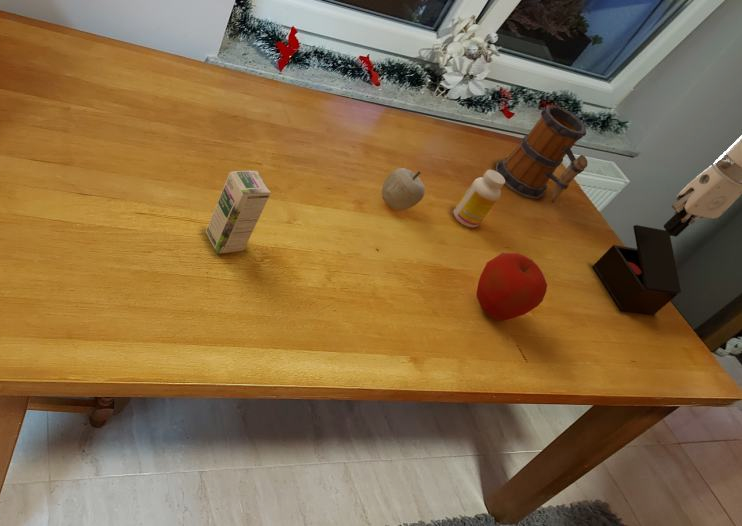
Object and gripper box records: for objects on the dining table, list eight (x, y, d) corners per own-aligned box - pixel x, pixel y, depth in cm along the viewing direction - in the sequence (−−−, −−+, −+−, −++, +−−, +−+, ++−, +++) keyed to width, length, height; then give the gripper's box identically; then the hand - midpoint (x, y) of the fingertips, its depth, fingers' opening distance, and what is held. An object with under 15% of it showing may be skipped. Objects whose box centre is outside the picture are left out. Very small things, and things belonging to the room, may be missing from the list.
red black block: (627, 283, 162) (642, 269, 159) (625, 291, 159) (640, 277, 156) (613, 273, 163) (627, 259, 159) (610, 281, 160) (624, 266, 156)
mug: (565, 211, 177) (617, 151, 164) (529, 213, 169) (580, 151, 156) (520, 161, 187) (566, 102, 174) (484, 161, 180) (529, 99, 167)
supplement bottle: (481, 231, 156) (513, 189, 147) (456, 225, 154) (488, 183, 145) (473, 211, 160) (503, 170, 152) (449, 205, 158) (478, 163, 150)
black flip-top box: (591, 266, 163) (613, 244, 158) (623, 271, 167) (646, 250, 162) (620, 311, 154) (644, 289, 149) (653, 315, 158) (678, 294, 153)
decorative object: (368, 200, 148) (389, 165, 141) (386, 186, 154) (406, 152, 148) (401, 225, 146) (424, 190, 139) (417, 209, 152) (439, 176, 146)
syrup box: (203, 231, 122) (227, 170, 113) (232, 228, 126) (258, 169, 116) (216, 254, 119) (242, 194, 110) (245, 251, 123) (272, 192, 113)
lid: (632, 225, 153) (635, 224, 152) (666, 232, 157) (669, 231, 156) (644, 288, 149) (647, 287, 148) (678, 293, 153) (681, 292, 152)
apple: (451, 299, 135) (491, 251, 125) (479, 279, 143) (518, 232, 134) (500, 344, 131) (544, 297, 121) (525, 320, 139) (569, 274, 130)
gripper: (721, 175, 133) (654, 239, 145) (770, 187, 139) (702, 248, 151) (699, 150, 138) (636, 215, 150) (747, 163, 144) (683, 224, 156)
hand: (669, 231), depth 150 cm, fingers closed
